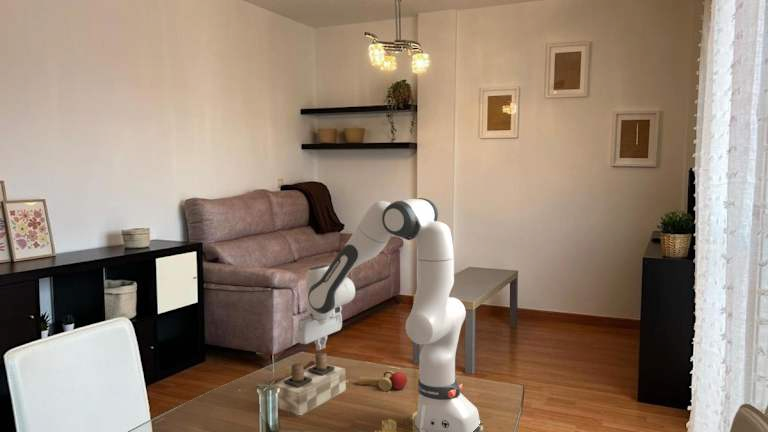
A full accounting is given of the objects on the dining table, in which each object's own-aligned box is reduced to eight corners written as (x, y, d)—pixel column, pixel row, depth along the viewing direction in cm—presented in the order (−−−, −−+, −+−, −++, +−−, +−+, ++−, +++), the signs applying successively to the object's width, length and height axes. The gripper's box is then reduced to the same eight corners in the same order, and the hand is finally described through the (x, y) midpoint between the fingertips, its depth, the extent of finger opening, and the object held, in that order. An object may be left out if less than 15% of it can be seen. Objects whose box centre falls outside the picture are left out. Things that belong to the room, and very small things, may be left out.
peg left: (306, 388, 195) (306, 364, 194) (298, 392, 192) (297, 368, 191) (298, 386, 197) (297, 362, 196) (289, 390, 194) (289, 366, 193)
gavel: (302, 355, 234) (326, 356, 232) (302, 366, 234) (326, 367, 232) (285, 371, 213) (311, 373, 211) (285, 384, 213) (311, 385, 212)
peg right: (329, 376, 205) (329, 353, 204) (322, 380, 201) (321, 357, 200) (321, 374, 207) (320, 351, 206) (313, 378, 204) (313, 355, 203)
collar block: (345, 390, 206) (345, 366, 205) (299, 416, 187) (298, 389, 186) (320, 383, 213) (319, 359, 212) (273, 407, 193) (272, 381, 192)
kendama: (356, 393, 207) (404, 391, 202) (354, 375, 208) (402, 372, 203) (363, 388, 214) (410, 386, 209) (362, 371, 215) (408, 368, 210)
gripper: (306, 319, 191) (307, 359, 193) (344, 305, 208) (345, 342, 209) (292, 316, 195) (293, 356, 196) (331, 303, 211) (332, 339, 213)
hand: (320, 349), depth 203 cm, fingers closed
